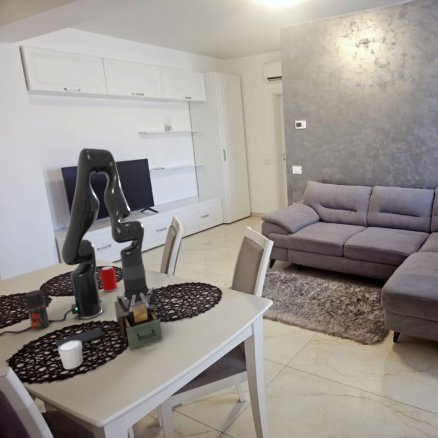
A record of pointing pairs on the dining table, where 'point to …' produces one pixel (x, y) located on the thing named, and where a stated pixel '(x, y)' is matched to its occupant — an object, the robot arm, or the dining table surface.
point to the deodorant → (37, 310)
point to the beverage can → (108, 278)
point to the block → (140, 313)
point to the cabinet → (121, 314)
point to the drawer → (142, 331)
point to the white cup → (71, 354)
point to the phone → (83, 337)
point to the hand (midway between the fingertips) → (140, 317)
